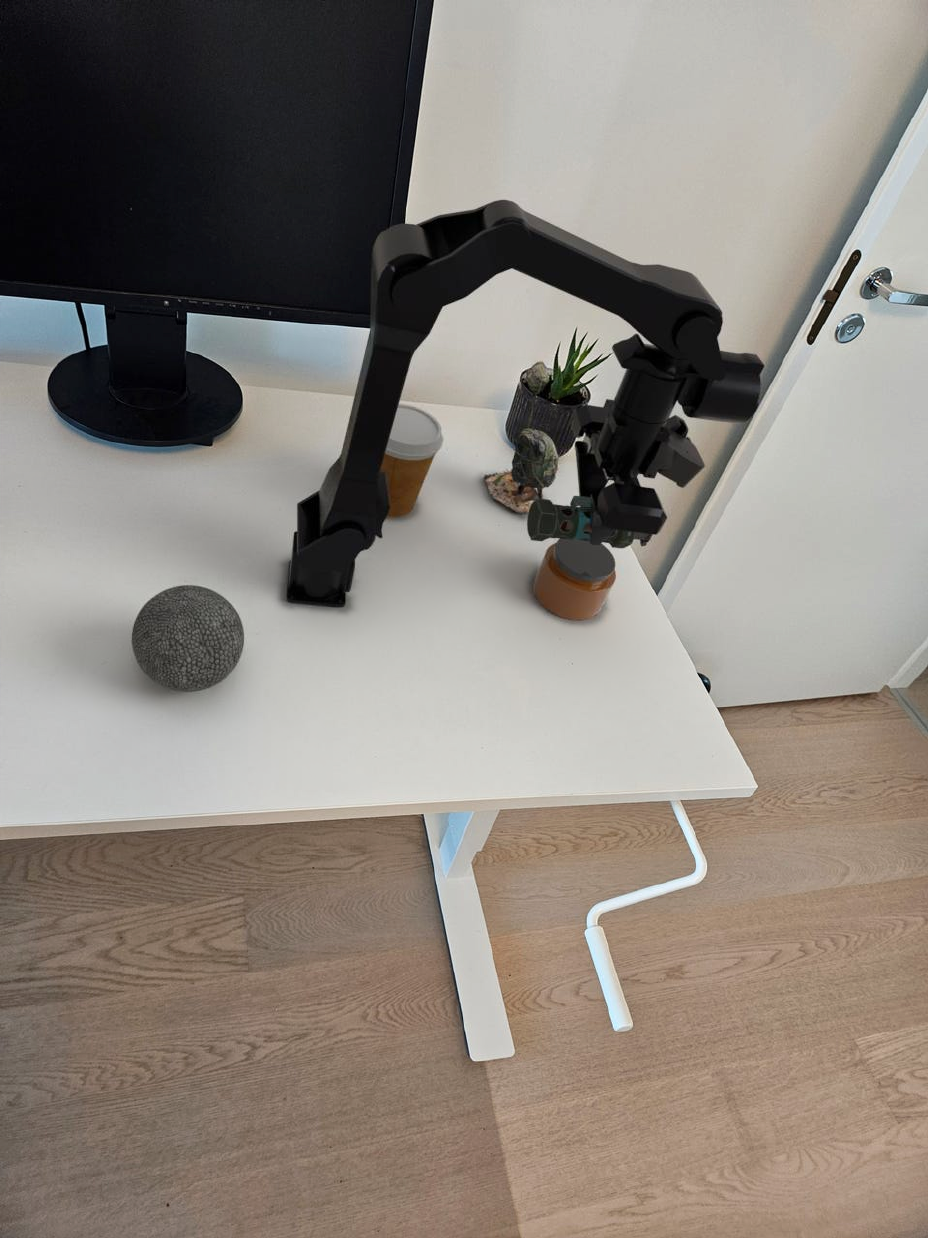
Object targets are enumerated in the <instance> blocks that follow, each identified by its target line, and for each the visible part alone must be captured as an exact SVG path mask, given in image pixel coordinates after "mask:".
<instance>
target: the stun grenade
mask: <svg viewBox="0 0 928 1238" xmlns="http://www.w3.org/2000/svg"><path fill="white" fill-rule="evenodd" d="M569 504H570V505H562V504H554V503H553V502H552V500H551V499H548V498H547V499H546V498H543V499H539V498H538V499H537V500H535V501H534V502H533V503H532V504H531V506H530V509H529V513H528V514H527V518H526V519H527V520H526V530H527V534H528V537H529V538H530V541H532V542H533V541H534V542H544V541H546V540H548V539H560V538H561V539H568V540H583V541H590V508H583V507H590V504H591V497H583V496H579V495H573V496H572V498H571V501H570V502H569ZM580 506H582V507H580ZM653 536H654V534H646V533H638V532H630V531H622V530H615V531H614V532H613V533H612V534H611V535H610V536H609V537H608V538H607V539H606V540H605V541H603V542H602V543H604V544H609V545H610V547H611V548H612V549H613V548H615V549H625V548H628V547H630V545H632V544H633V542H634V540H637V541H638V540H639V544H640V547H645V546H647V545H648V543H649V542H650V541H652V537H653Z"/></svg>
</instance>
